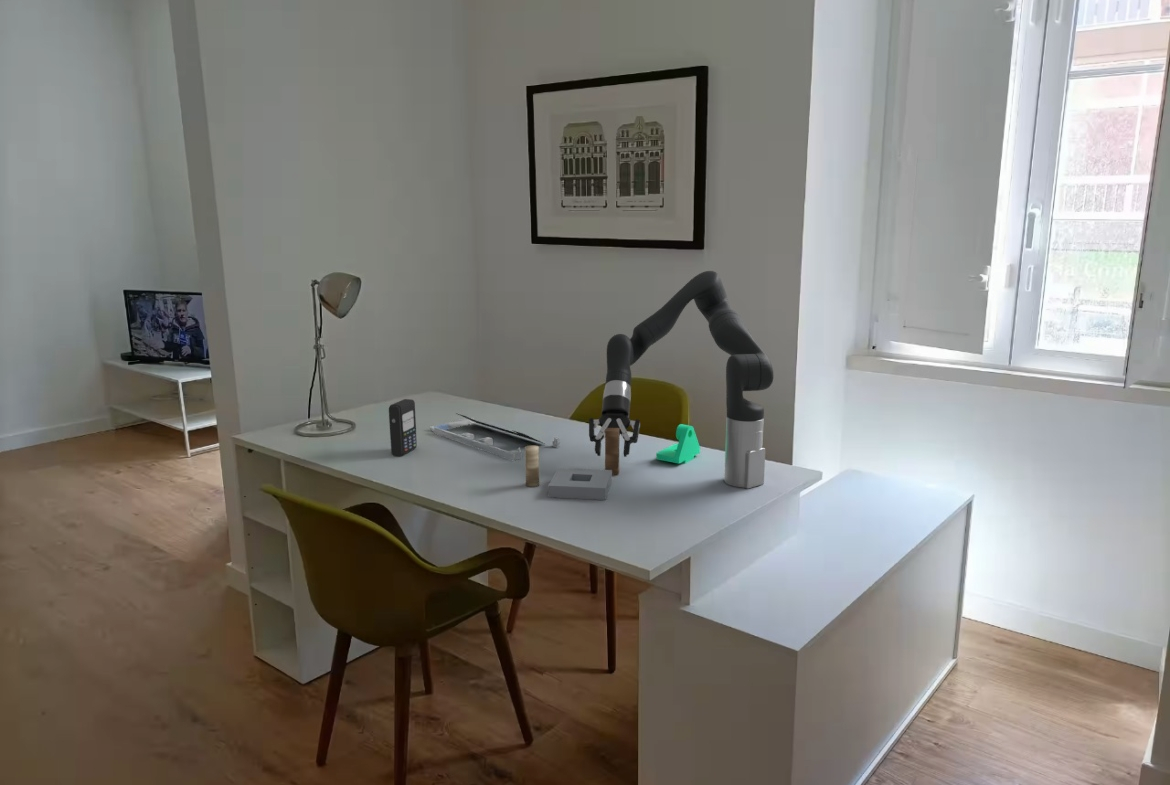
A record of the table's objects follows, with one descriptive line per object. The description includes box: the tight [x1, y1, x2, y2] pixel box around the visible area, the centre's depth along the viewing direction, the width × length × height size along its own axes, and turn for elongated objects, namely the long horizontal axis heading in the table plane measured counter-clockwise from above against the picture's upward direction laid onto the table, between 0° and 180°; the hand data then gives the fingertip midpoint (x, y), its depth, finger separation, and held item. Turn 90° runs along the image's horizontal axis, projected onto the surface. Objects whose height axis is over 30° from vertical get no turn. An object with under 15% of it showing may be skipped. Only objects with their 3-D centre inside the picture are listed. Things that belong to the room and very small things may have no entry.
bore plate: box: [547, 467, 613, 501], centre depth 208 cm, size 14×14×3 cm
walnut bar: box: [604, 428, 621, 476], centre depth 219 cm, size 3×3×12 cm
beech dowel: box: [524, 444, 540, 488], centre depth 211 cm, size 3×3×10 cm
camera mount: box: [655, 423, 701, 464], centre depth 231 cm, size 12×8×10 cm, turn 144°
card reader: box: [388, 398, 418, 457], centre depth 238 cm, size 9×4×15 cm, turn 161°
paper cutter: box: [428, 412, 561, 462], centre depth 253 cm, size 18×45×6 cm, turn 44°
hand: (611, 454), depth 218 cm, fingers open, 6 cm apart
